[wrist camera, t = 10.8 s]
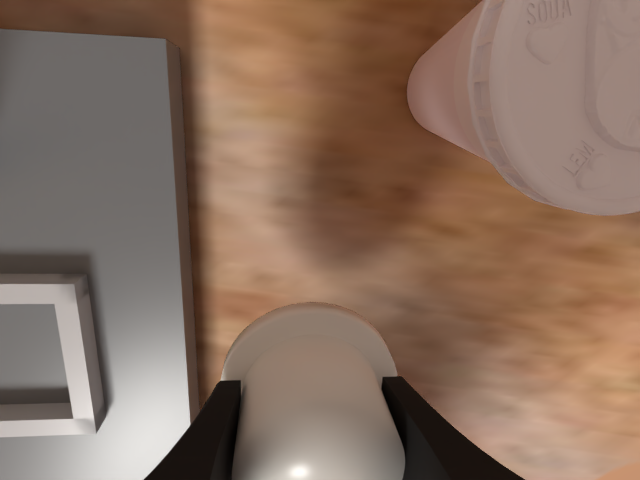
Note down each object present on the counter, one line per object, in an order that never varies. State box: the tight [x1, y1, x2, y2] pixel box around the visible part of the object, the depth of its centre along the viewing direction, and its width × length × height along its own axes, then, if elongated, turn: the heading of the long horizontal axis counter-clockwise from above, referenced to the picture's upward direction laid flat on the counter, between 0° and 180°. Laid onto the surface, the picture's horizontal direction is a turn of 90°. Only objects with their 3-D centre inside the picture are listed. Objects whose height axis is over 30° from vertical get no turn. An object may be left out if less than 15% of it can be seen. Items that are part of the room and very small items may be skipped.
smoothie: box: [407, 0, 640, 216], centre depth 10 cm, size 6×6×14 cm
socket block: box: [0, 29, 200, 480], centre depth 16 cm, size 20×14×3 cm
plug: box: [221, 302, 405, 480], centre depth 13 cm, size 6×6×5 cm
